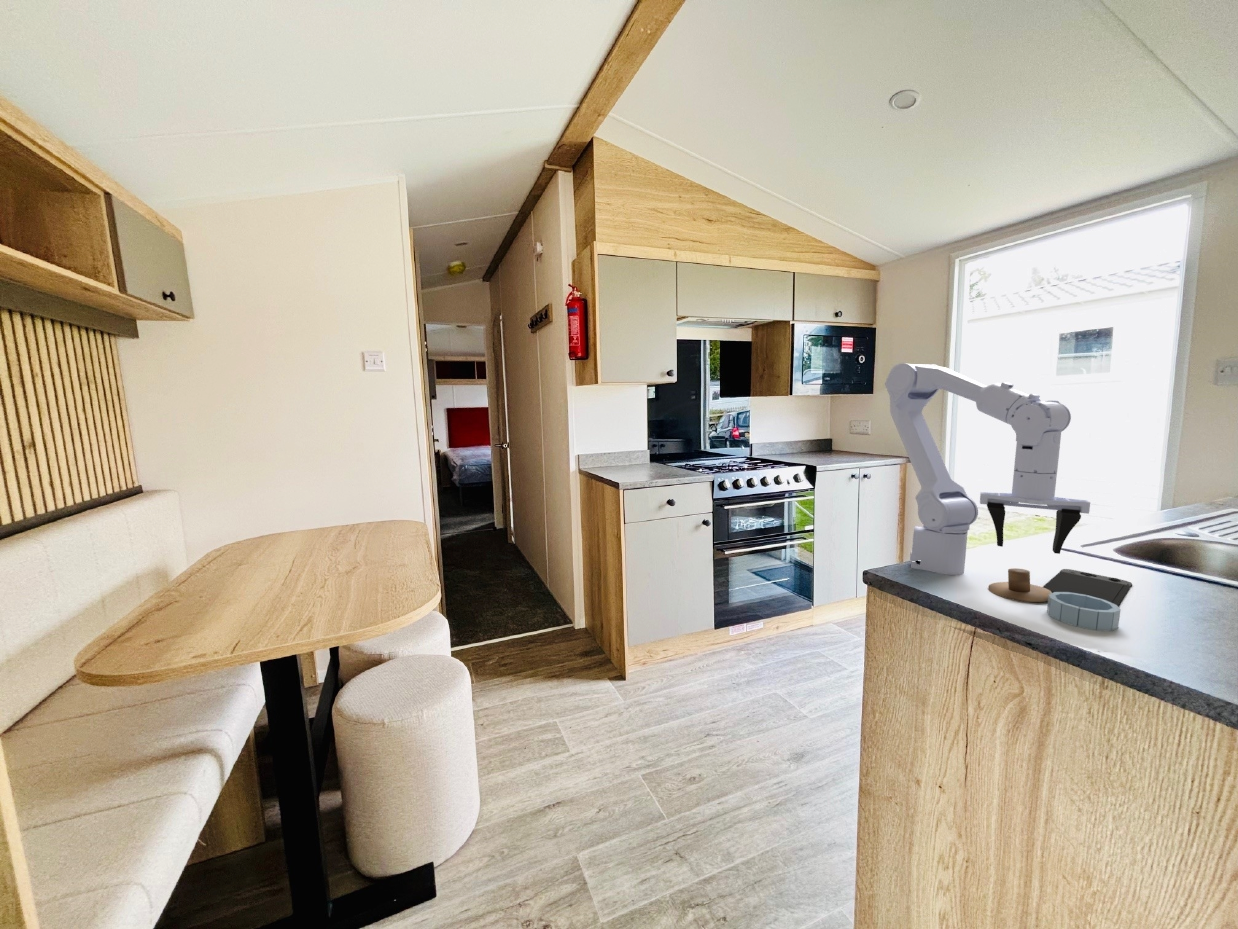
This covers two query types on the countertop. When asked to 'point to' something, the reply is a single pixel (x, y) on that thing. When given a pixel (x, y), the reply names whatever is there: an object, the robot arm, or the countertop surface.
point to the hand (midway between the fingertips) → (1027, 548)
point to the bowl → (1083, 611)
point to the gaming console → (1089, 585)
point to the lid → (1020, 587)
